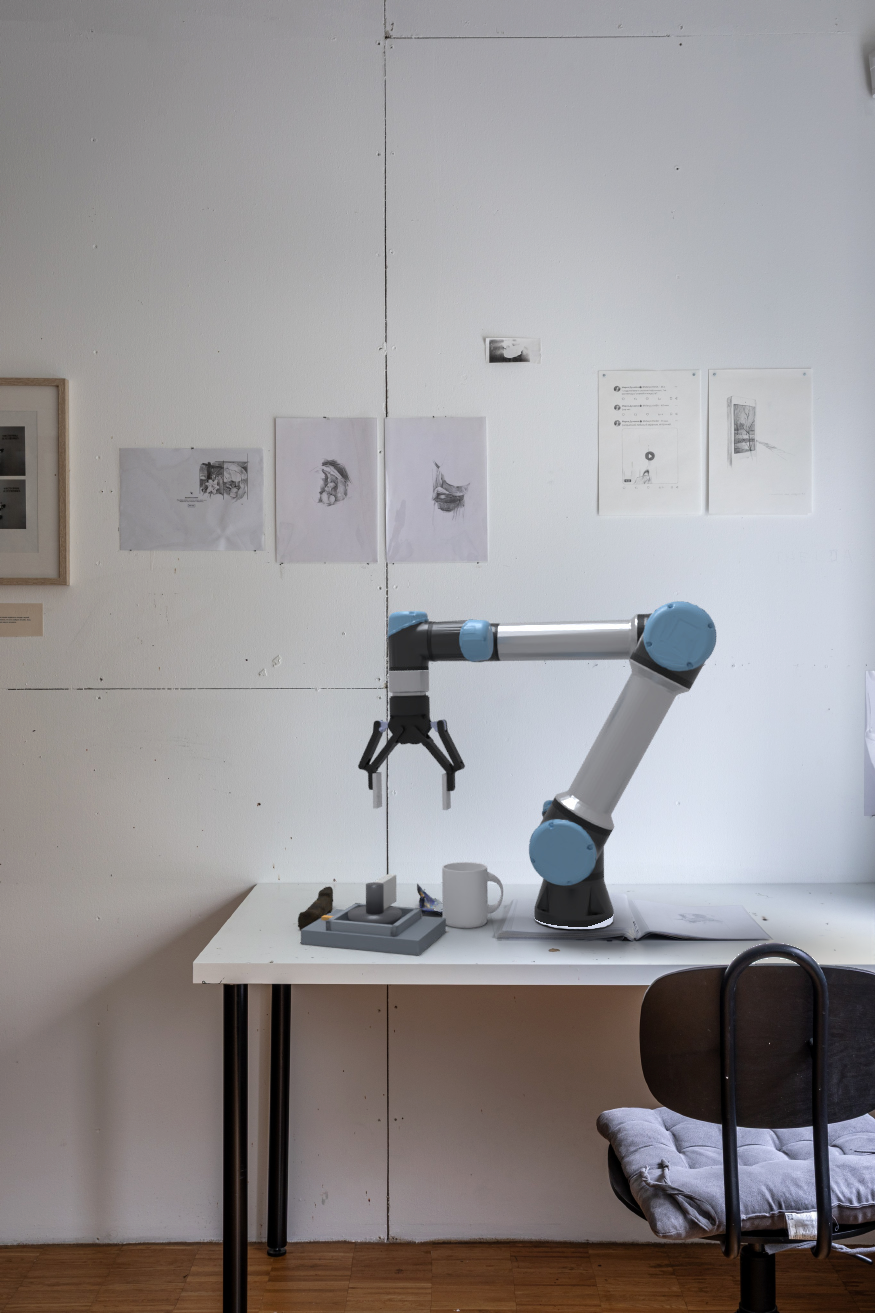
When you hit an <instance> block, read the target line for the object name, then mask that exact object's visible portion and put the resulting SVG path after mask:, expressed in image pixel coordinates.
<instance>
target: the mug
mask: <svg viewBox="0 0 875 1313" xmlns="http://www.w3.org/2000/svg"><path fill="white" fill-rule="evenodd" d="M441 868H442V872H441V873H442V876H441V877H442V881H441V884H442V890H441V891H442V897H441V898H442V901H441V902H442V904H441V905H442V908H443V910H442V911H443V917H442V918H446V926H448V927H451V928H455V929H456V928H458V929H475V928H480V927H482V926H484V925H486V924H487V922H488V916H489V914H493V913H494V912H496V911H497V910H499V908H500V906H501V905H502V902H503V898H504V887H503V883H502V882H501V880H500V878H499V877H498V876H497V875H496V874H494V873H492V872H490V871H488V866H487V865H486V864H485V863H480V862H473V861H470V862H469V861H459V862H449V863H446V864H443V865H442V866H441ZM488 882H492V883H495V884H497V885H498V887H499V889H500V896H499V897H500V898H499V899H498V901H497V902H495V903H494V904H489V903H488V893H489V892H488Z"/></svg>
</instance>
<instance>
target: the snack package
mask: <svg viewBox="0 0 875 1313" xmlns="http://www.w3.org/2000/svg"><path fill="white" fill-rule="evenodd" d="M416 889H417V893H418V896H419V898H418V906H419V907H418V908H422V915H423V914H427V913H438V915H440V916H441V918H443V907H441V908H440V910H441V911H440V910H436V907H437V906H439V904H440V905H442V901H440V899H438V898H436V897H434V898H433V896H430V894H429V893H427V891H426V889H425V888H422V886H420V885H419V883H418V882H417V884H416ZM434 909H435V910H434Z"/></svg>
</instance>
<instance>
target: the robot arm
mask: <svg viewBox="0 0 875 1313" xmlns="http://www.w3.org/2000/svg"><path fill="white" fill-rule="evenodd" d="M387 622H388V623H387V624H388V626H387V628H388V629H387V636H386V638H387V645H388V646H387V649H388V653H387V654H388V692H389V693H390V694H392V695H390V696H389V699H388V700H389V707H388V708H389V721H384V720H383V719H379V720H375V721H374V722H373V727H372V734H371V735H370V737H369V740H368V742H367V744H366V747H365V750H364V751H363V753H362V754H361V759H360V760H359V762H358V765H357V767H358V770H362V771H365V772H366V774H367V785H368V790H369V791H372V809H375V810H376V809H380V808H381V807H383V788H382V787H383V786H382V785H383V783H382V782H383V780H382V772H381V771H379V769H380V768H381V766H382V765H383V764H384V762H385V761H386V760H387V758H389V756H390V754H391V753H392V752H393V751H394V750H395V748H397V746H398V745H399V744H400V745H409V744H410V745H420V744H421V745H422V746H423V747H424V748H425V749H426V750H427V751H428V752H429V753H430V755H431V756H432V757H433V759H435V761H436V762H437V763H438V764H439V766H440V767H441V768H442V769H443V771H445V773H442V774H441V792H442V796H441V799H442V800H441V801H442V802H441V803H442V811H448V810H449V809H451V807H452V805H451V804H452V803H451V802H452V801H451V792H453V791H455V789H456V773H457V772H459V771H461V770H464V769H465V768H466V765H465V762H464V760H463V759H462V757H461V755H460V752H459V751H458V748H457V746H456V744H455V743H454V741H453V738H452V737H451V735H450V732H449V730H448V722H447V720H446V719H439V720H436V721H432V720H431V716H430V715H431V708H430V707H431V706H430V703H431V702H430V696H429V695H428V694H427V693H428V692H429V691H430V667H429V665H430V663H435V662H436V663H437V662H470V663H484V662H529V661H533V662H534V661H535V662H537V661H538V662H539V661H541V662H542V661H543V662H545V661H546V662H547V661H606V660H607V661H615V660H618V661H619V660H620V661H621V660H624V661H625V660H628V662H629V665H630V669H631V673H630V675H629V677H628V679H627V681H626V683H625V684H624V686H623V688H622V690H621V692H620V694H619V695H618V697H617V699H616V701H615V703H614V704H613V707H612V708H611V710H610V712H609V714H608V715H607V718H606V720H605V722H604V724H602V727H601V729H600V731H598V732H599V733H598V734H597V736H596V737H595V740H594V742H593V743H592V746H591V748H590V749H589V751H588V753H587V755H586V757H585V758H584V760H583V763H582V764H581V766H580V768H579V770H578V771H577V773H576V775H575V777H574V778H573V780H572V782H571V784H570V786H569V788H568V790H565V791H563V792H559V793H556V794H555V796H554V798H553V799H548V800H544V802H543V804H542V811H541V816H542V820H541V821H540V824H539V825H538V826H537V828H535V829H534V830H533V832H532V833H531V836H530V839H529V844H528V855H529V856H528V857H529V860H530V864H531V865H532V867H533V869H534V871H535V872H536V873H537V875H539V876H540V877H541V878H542V883H541V885H540V888H539V892H538V895H537V897H536V902H535V904H534V911H533V912H534V913H533V914H534V917H535V919H536V920H538V921H540V922H543V923H546V924H551V925H557V926H568V927H588V926H592V925H595V924H598V923H601V922H603V921H605V920H607V919H609V918H611V917H612V916H613V914H614V915H615V913H614V912H615V911H614V906H613V904H612V901H611V897H610V895H609V892H608V889H607V885H606V882H605V845H606V844H607V842H608V840H609V838H610V836H611V834H612V832H613V831H614V830H615V824H614V821H613V818H612V814H613V812H614V810H616V807H617V805H618V803H619V801H620V799H621V797H622V796H623V794H624V792H625V791H626V788H627V787H628V786H629V783H630V781H631V780H632V777H633V776H634V774H635V773H636V771H637V769H638V767H639V765H640V763H641V761H642V759H643V757H644V755H645V753H646V752H647V750H648V748H649V747H650V745H651V744H652V743H651V742H652V740H653V739H654V738H655V736H656V734H657V733H658V730H659V728H660V726H661V724H662V723H663V721H664V719H665V717H666V715H667V714H668V712H669V710H670V708H671V706H672V704H673V703H674V701H675V699H676V697H677V696H679V695H682V694H685V693H688V692H690V690H691V689H692V687H693V685H694V683H695V682H696V679H698V676H699V674H700V672H701V670H702V669H703V667H704V665H705V664H706V661H707V660H708V659H709V658H710V657H711V656H712V654H713V652H714V650H715V647H716V646H717V645H716V643H717V629H716V624H715V622H714V620H713V619H712V617H711V615H710V614H709V613H708V612H707V611H706V610H705V609H704V608H701V606H699V605H698V604H695V603H691V602H689V601H681V600H680V601H678V600H676V601H671V602H667V603H665V604H663V605H661V606H659V607H658V608H657V609H655V610H654V612H651V613H636V614H634V616H633V617H631V618H630V619H608V620H607V619H606V620H601V619H600V620H572V621H571V620H570V621H565V620H564V621H536V622H535V621H530V622H529V621H527V622H525V621H524V622H500V623H499V622H497V623H495V622H493V623H490V622H489V621H488V620H487V619H473V618H472V619H466V620H465V619H464V620H463V619H462V620H461V619H460V620H446V621H445V620H444V621H443V620H442V621H432V620H431V621H430V618H428V614H427V612H426V611H422V610H404V611H401V610H400V611H395V612H392V613H390V615H388V621H387ZM387 729H388V730H389V732H390V733H391V736H390V737H389V738H388V739H387V741H386V744H385V745H384V746H383V747H382V748H381V750H380V751H379V752H378V753H377V755H376V757H375V758H374V759H373V757H374V754H375V753H376V751H377V748H378V746H379V743H380V742H381V739H382V737H383V734H384V733H385V732H386V731H387ZM432 729H434V731H435V733H438V736H439V739H440V740H441V742H442V745H443V747H444V749H445V751H446V753H447V755H448V757H449V758H448V757H447V756H446V754H444V752H443V751H442V750H441V748H440V747H439V746H438V745H437V743H435V741H434V739H433V738H432V737H431V735H430V731H431V730H432ZM372 759H373V760H372ZM449 759H450V760H449ZM535 919H534V920H535Z"/></svg>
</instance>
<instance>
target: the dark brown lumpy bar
mask: <svg viewBox="0 0 875 1313" xmlns="http://www.w3.org/2000/svg"><path fill="white" fill-rule="evenodd" d="M333 904H334V889H333V887H332V886H330V885H329V886H325V887H323V888H322V889H320V890H319V891H318V894H317V898H316V899H315V900H314V902H312V904H310V906H308V908H306V909H305V911H301V912H299V914H298V918H297V927H298V928H299V930H300V931H301V929H303V928H305V927H306V926H308V925H310V924H312V923H313V922H315V921H317V920H319V919H320V918H321V917H322V916H324V915H327V914H329V913H330V912H332V911H333Z"/></svg>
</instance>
